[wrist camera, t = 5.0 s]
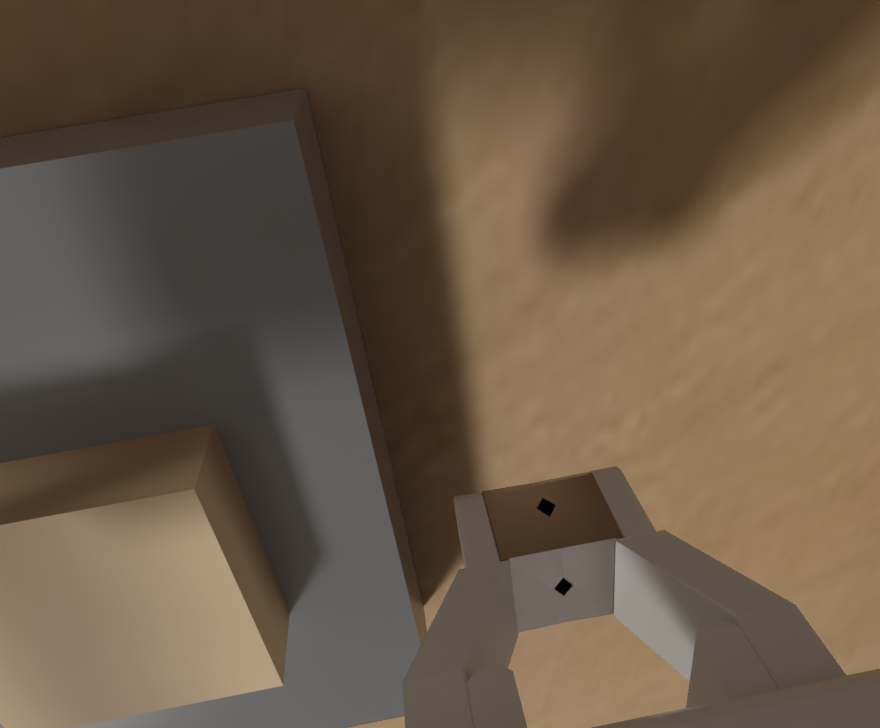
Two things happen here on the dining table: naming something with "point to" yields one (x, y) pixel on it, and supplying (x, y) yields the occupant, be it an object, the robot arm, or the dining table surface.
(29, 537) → the oak tile
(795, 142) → the dining table surface
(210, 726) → the slate board
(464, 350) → the dining table surface
